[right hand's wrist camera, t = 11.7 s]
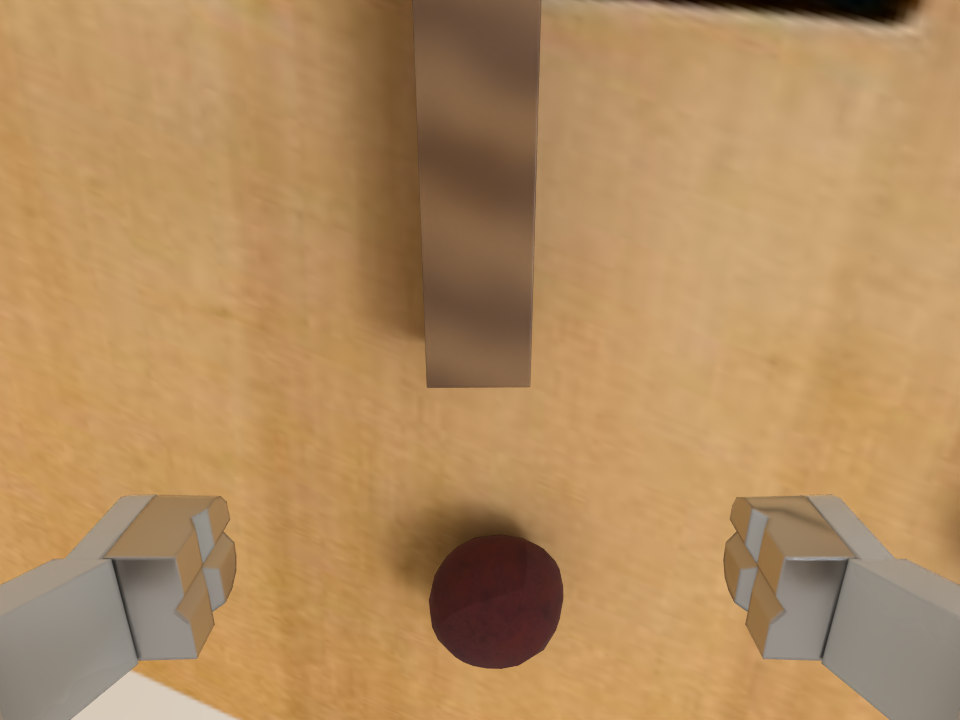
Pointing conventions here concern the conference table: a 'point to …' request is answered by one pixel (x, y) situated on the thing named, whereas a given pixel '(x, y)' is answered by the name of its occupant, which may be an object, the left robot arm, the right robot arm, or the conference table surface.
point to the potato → (496, 601)
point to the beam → (477, 186)
